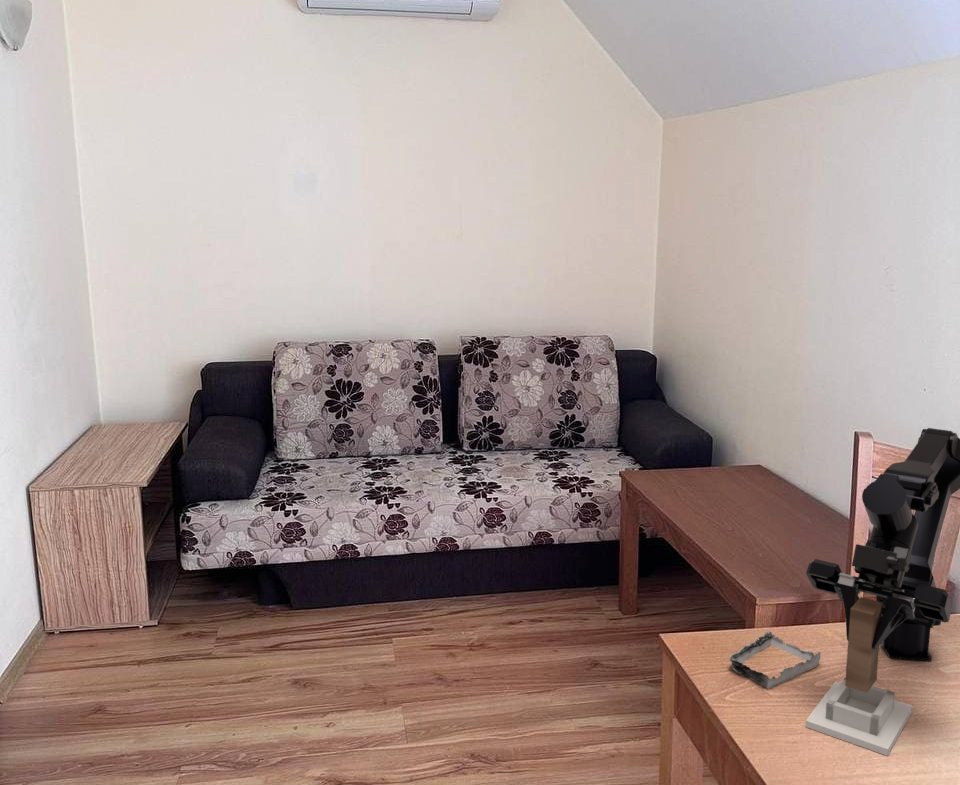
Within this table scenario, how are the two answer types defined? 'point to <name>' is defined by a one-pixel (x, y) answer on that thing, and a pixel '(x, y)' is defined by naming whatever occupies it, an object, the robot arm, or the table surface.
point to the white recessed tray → (861, 716)
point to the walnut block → (863, 644)
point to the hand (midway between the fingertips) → (861, 644)
